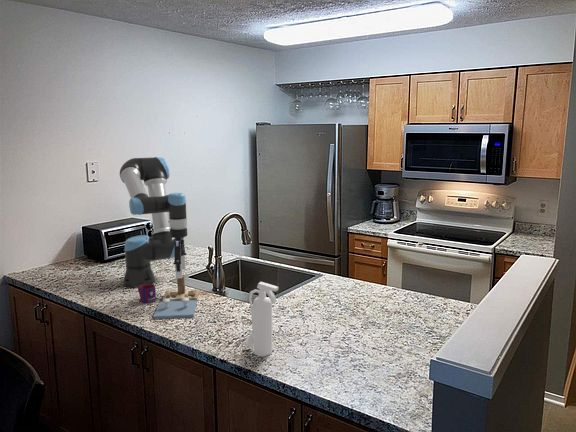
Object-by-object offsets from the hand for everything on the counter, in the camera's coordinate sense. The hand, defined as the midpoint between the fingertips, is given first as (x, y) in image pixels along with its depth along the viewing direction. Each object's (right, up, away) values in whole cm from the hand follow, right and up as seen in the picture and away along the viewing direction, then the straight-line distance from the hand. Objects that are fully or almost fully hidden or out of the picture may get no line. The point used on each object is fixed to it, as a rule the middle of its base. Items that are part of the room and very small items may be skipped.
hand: (180, 273), depth 209 cm
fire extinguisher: (+39, -21, -50) cm, 67 cm away
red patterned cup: (-15, -12, -1) cm, 19 cm away
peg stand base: (0, -11, +1) cm, 11 cm away
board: (+1, -14, -14) cm, 20 cm away
